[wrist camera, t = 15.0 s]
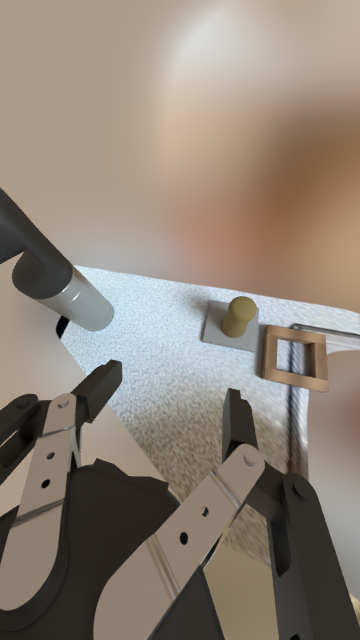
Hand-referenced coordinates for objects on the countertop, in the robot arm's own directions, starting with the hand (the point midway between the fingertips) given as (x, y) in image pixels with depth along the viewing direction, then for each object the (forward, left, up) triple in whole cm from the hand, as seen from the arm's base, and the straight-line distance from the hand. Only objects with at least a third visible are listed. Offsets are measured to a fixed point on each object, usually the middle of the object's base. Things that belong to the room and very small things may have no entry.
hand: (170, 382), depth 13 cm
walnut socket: (+21, +12, -29) cm, 37 cm away
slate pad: (+7, +17, -29) cm, 34 cm away
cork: (+7, +16, -28) cm, 33 cm away
